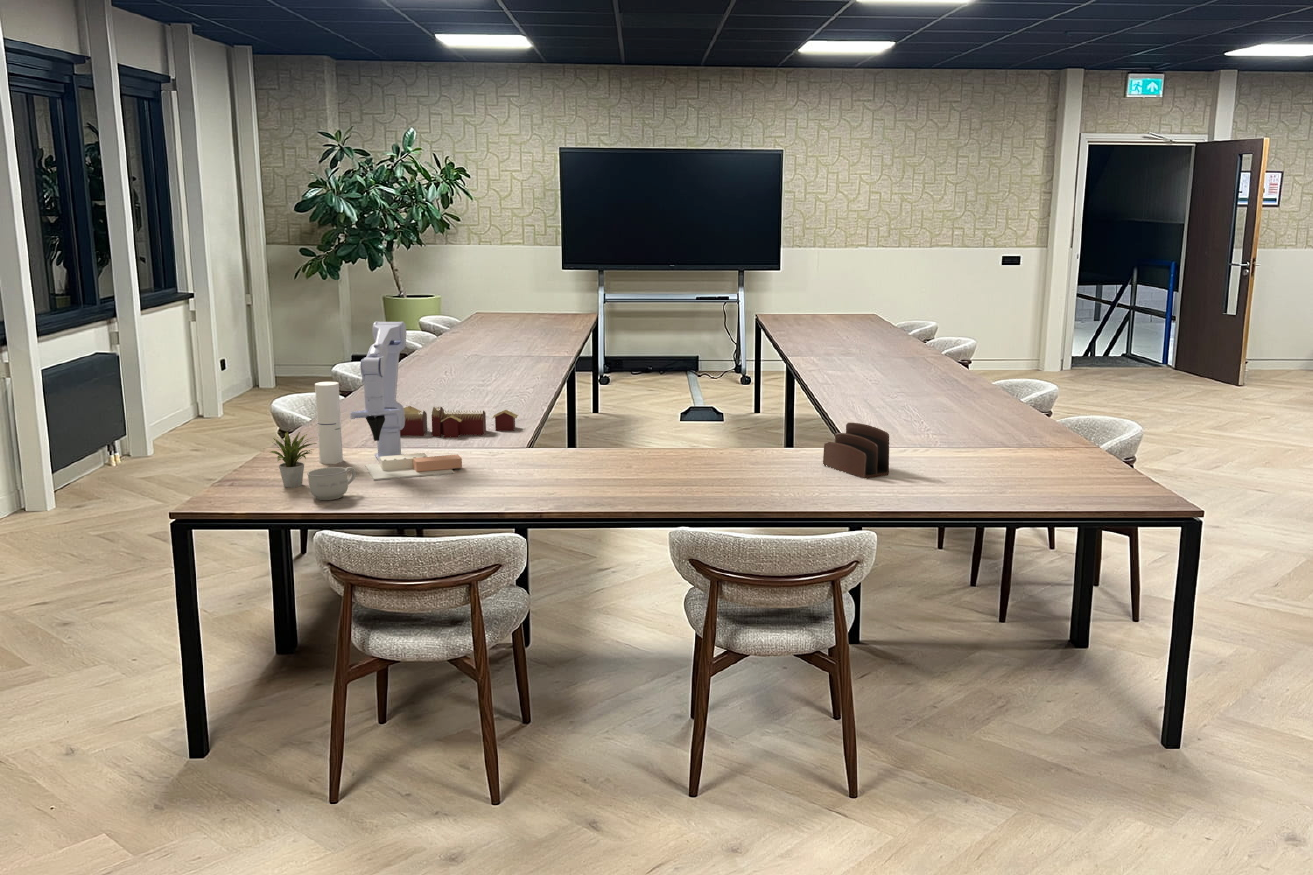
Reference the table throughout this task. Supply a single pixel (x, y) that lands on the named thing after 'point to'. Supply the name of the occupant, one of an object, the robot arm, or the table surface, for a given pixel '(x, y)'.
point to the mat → (401, 472)
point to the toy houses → (453, 423)
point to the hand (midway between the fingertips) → (376, 440)
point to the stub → (437, 463)
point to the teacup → (329, 482)
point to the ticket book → (398, 461)
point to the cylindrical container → (328, 422)
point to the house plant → (292, 460)
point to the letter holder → (859, 451)
